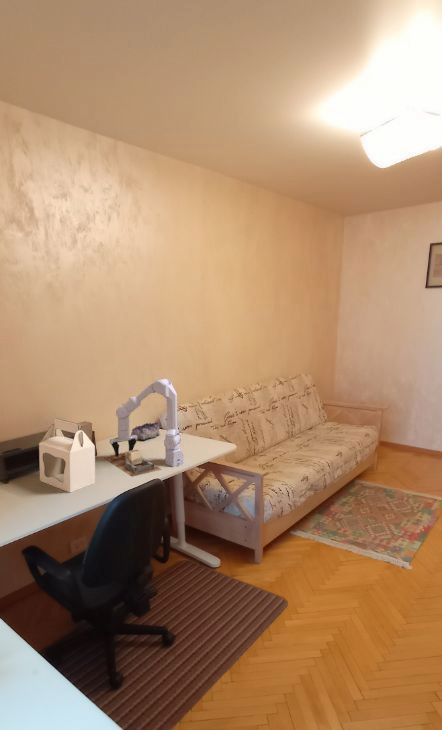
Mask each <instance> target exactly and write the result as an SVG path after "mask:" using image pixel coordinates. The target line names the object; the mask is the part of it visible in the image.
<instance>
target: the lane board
mask: <svg viewBox="0 0 442 730" xmlns="http://www.w3.org/2000/svg"><path fill="white" fill-rule="evenodd" d="M103 459H105V460H106V461H108V462H109V463H110V464H112V465H114V466H115V467H117V468H118V469H119V470H121V471H123V472H124V473H126V474H127V475H128V476H130V477H132V478H133V477H137V476H141V475H144V474H145V475H146V474H149V473H153V472H158V471H162V470H163V469H162V468H161V467H159V466H156V465H155V463H152V462H151V461H149V460H147V459H145V458H143V457H142V460H143V463H140V464H135V465H132V464H131V463H129V462H126V457H124V458H119V459H114V460H112V459H111V456H107V457H104V458H103Z"/></svg>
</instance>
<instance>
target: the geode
mask: <svg viewBox="0 0 442 730" xmlns="http://www.w3.org/2000/svg"><path fill="white" fill-rule="evenodd" d="M160 434H161V433H160V426H159V423H158V422H155V423H151V422H149V423H148V422H147V423H144V424H142V425H138V426H137V425H136V426H135V427H133V428H132V429H131V432H130V436H132V435H136V436H137V440H136V441H146V440H148V439H155V438H157V436H161V435H160Z"/></svg>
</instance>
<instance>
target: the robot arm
mask: <svg viewBox="0 0 442 730" xmlns="http://www.w3.org/2000/svg"><path fill="white" fill-rule="evenodd" d="M155 393H156V394H158V395H160V396H162V397H164V399H166V433H165V439H164V441H163V445H164V447H165V448H164V449H165V453H164V456H165V459H164V460H165V461H164V462H165V465H167V466H170V467H171V468H175V467H180V466H184V453H183V451H182V450H181V446H180V443H181V441H182V437H181V434H180V430H179V429H178V394H177V391H176V390H175V388H174V386H173V383H172V381H170V380H169V379H168V378H165V377H164V378H161V379H159V380H154V382H153V383H151V384H149V385H148V386H146V388H145V389H143V390H142V391H141V392H140V393H139V394H138V395H137V396H132V397H131V396H130V397H129V398H128V400H127V401H126V402H124V403H123V404H122V406H119V407H118V408H117V409H116V411H115V414H116V415H115V416H116V417H117V437H114V438H110V439H109V444H111V446H112V449H113V452H114V455H115V456H116V457H118V456H119V454H120V452H119V448H120V444H119V443H124V442H127V443H128V444H127V445H128V451H131V450H134V448H135V445H136V444H137V441H138V440H137V436H136V435H132V436H131V435H130V416H131V414H132V413H133V412H135V410H137V409H138V407H139V408H140V406H141V405H142V404H141V403H142V401H144V400H145V399H146V398H147V397H149V395H151V394H155Z"/></svg>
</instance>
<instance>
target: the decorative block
mask: <svg viewBox="0 0 442 730" xmlns="http://www.w3.org/2000/svg"><path fill="white" fill-rule="evenodd" d="M77 423H78V425H81V429H80V430H82V431H83V432H84V433H85V434H86V435H87V437H88V438H89V439H90V440H91V442H92V443H93V423H92V422H90V421H81V422H77ZM67 435H68V436H72V437H74V436H75V433H72V432H68V431H67Z"/></svg>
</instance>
